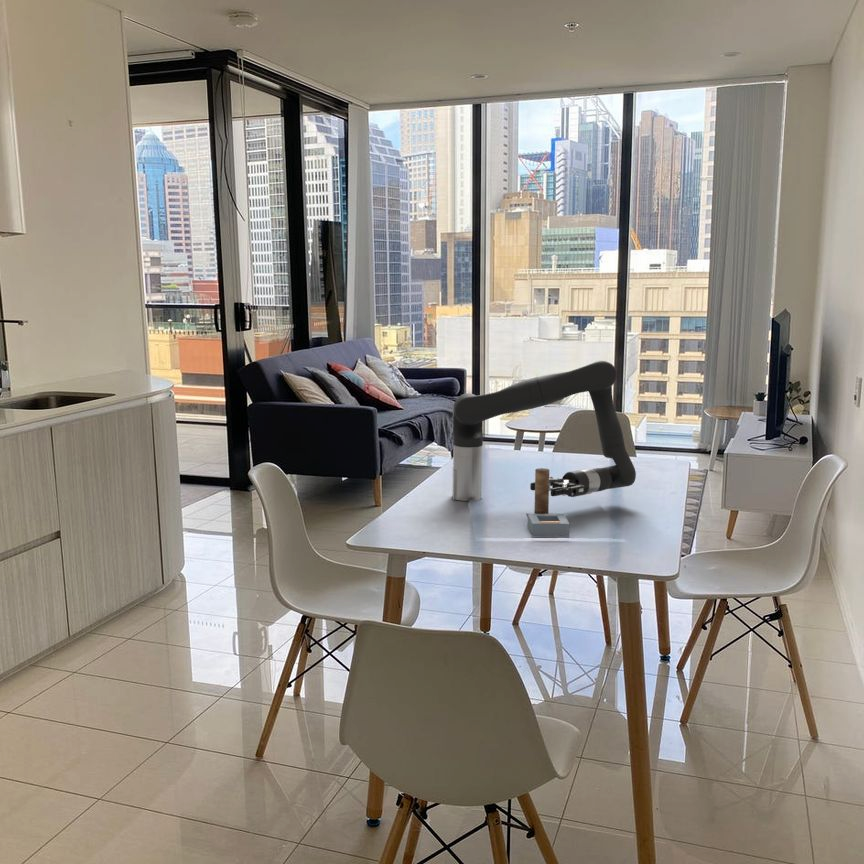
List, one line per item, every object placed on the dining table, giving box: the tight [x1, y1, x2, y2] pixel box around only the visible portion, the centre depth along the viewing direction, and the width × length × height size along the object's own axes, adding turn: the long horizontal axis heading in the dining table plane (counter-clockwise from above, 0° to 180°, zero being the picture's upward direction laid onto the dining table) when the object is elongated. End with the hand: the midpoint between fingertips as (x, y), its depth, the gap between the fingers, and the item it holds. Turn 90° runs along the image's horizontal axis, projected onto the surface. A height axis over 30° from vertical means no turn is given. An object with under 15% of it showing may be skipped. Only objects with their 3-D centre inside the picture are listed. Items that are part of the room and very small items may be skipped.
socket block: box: [527, 513, 571, 539], centre depth 236 cm, size 10×10×4 cm
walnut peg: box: [533, 467, 550, 514], centre depth 247 cm, size 4×4×14 cm
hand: (541, 489), depth 247 cm, fingers open, 8 cm apart
